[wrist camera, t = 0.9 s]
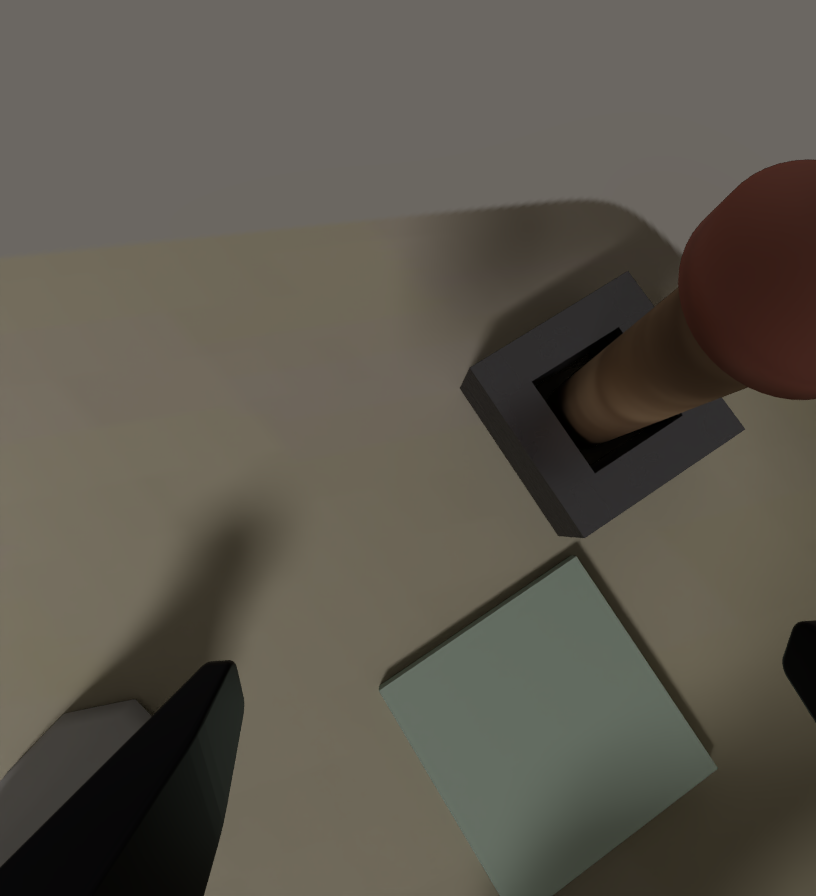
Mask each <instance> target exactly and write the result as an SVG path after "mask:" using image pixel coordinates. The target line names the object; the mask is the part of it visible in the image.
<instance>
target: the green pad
mask: <svg viewBox="0 0 816 896" xmlns="http://www.w3.org/2000/svg"><path fill="white" fill-rule="evenodd" d="M379 692H380V694H381V695H382V697H383V699H384V700H385V702H386V704H387V705H388V707H389V709H390V710H391V712H392V714H393V716H394V717H395V719H396V721H397V722H398V724H399V726H400V727H401V729H402V731H403V732H404V734H405V736H406V738H407V739H408V741H409V743H410V744H411V746H412V748H413V749H414V751H415V753H416V754H417V756H418V758H419V760H420V761H421V763H422V765H423V766H424V768H425V770H426V771H427V773H428V775H429V776H430V778H431V780H432V782H433V783H434V785H435V787H436V788H437V790H438V792H439V793H440V795H441V797H442V799H443V800H444V802H445V804H446V805H447V807H448V809H449V810H450V812H451V814H452V815H453V817H454V819H455V821H456V822H457V824H458V826H459V827H460V829H461V831H462V832H463V834H464V836H465V837H466V839H467V841H468V843H469V844H470V846H471V848H472V849H473V851H474V853H475V854H476V856H477V858H478V859H479V861H480V863H481V865H482V866H483V868H484V870H485V871H486V873H487V875H488V876H489V878H490V880H491V881H492V883H493V885H494V887H495V888H496V890H497V892H498V893H499V895H500V896H553V895H554V894H555V893H557V892H558V891H559V890H561V889H562V888H563V887H564V886H566V885H567V884H568V883H570V882H571V881H572V880H574V879H575V878H576V877H577V876H579V875H580V874H581V873H583V872H584V871H585V870H587V869H588V868H589V867H590V866H592V865H593V864H594V863H596V862H597V861H598V860H600V859H601V858H602V857H603V856H605V855H606V854H607V853H609V852H610V851H611V850H613V849H614V848H615V847H617V846H618V845H619V844H620V843H622V842H623V841H624V840H626V839H627V838H628V837H630V836H631V835H632V834H633V833H635V832H636V831H637V830H639V829H640V828H641V827H643V826H644V825H645V824H646V823H648V822H649V821H650V820H652V819H653V818H654V817H656V816H657V815H658V814H660V813H661V812H662V811H663V810H665V809H666V808H667V807H669V806H670V805H671V804H673V803H674V802H675V801H676V800H678V799H679V798H680V797H682V796H683V795H684V794H686V793H687V792H688V791H689V790H691V789H692V788H693V787H695V786H696V785H697V784H699V783H700V782H701V781H703V780H704V779H705V778H706V777H708V776H709V775H710V774H712V773H713V772H714V771H716V770H717V769H718V768H717V766H716V765H715V763H714V762H713V760H712V759H711V757H710V756H709V754H708V753H707V751H706V750H705V748H704V747H703V745H702V744H701V742H700V741H699V739H698V738H697V736H696V735H695V733H694V732H693V730H692V729H691V727H690V726H689V724H688V723H687V721H686V720H685V718H684V717H683V715H682V714H681V712H680V711H679V709H678V708H677V706H676V705H675V703H674V702H673V700H672V699H671V697H670V696H669V694H668V693H667V691H666V690H665V688H664V687H663V685H662V684H661V682H660V681H659V679H658V678H657V676H656V675H655V673H654V672H653V670H652V669H651V667H650V666H649V664H648V663H647V661H646V660H645V658H644V657H643V655H642V654H641V652H640V651H639V649H638V648H637V646H636V645H635V643H634V642H633V640H632V639H631V637H630V636H629V634H628V633H627V631H626V630H625V628H624V627H623V625H622V624H621V622H620V621H619V619H618V618H617V616H616V615H615V613H614V612H613V610H612V609H611V607H610V606H609V604H608V603H607V601H606V600H605V598H604V597H603V595H602V594H601V592H600V591H599V589H598V588H597V586H596V585H595V583H594V582H593V580H592V579H591V577H590V576H589V574H588V573H587V571H586V570H585V568H584V567H583V565H582V564H581V563H580V561H579V560H578V558H577V557H576V556H572V555H571V556H570V557H568V558H567V559H565V560H564V561H562V562H561V563H559V564H558V565H556V566H555V567H553V568H552V569H550V570H549V571H548V572H546V573H545V574H543V575H542V576H540V577H539V578H537V579H536V580H534V581H533V582H531V583H530V584H528V585H527V586H525V587H524V588H523V589H521V590H520V591H518V592H517V593H515V594H514V595H512V596H511V597H509V598H508V599H506V600H505V601H503V602H502V603H500V604H499V605H498V606H496V607H495V608H493V609H492V610H490V611H489V612H487V613H486V614H484V615H483V616H481V617H480V618H478V619H477V620H475V621H474V622H472V623H471V624H470V625H468V626H467V627H465V628H464V629H462V630H461V631H459V632H458V633H456V634H455V635H453V636H452V637H450V638H449V639H447V640H446V641H445V642H443V643H442V644H440V645H439V646H437V647H436V648H434V649H433V650H431V651H430V652H428V653H427V654H425V655H424V656H422V657H421V658H420V659H418V660H417V661H415V662H414V663H412V664H411V665H409V666H408V667H406V668H405V669H403V670H402V671H400V672H399V673H397V674H396V675H394V676H393V677H392V678H390V679H389V680H387V681H386V682H384V683H383V684H381V685H380V686H379Z"/></svg>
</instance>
